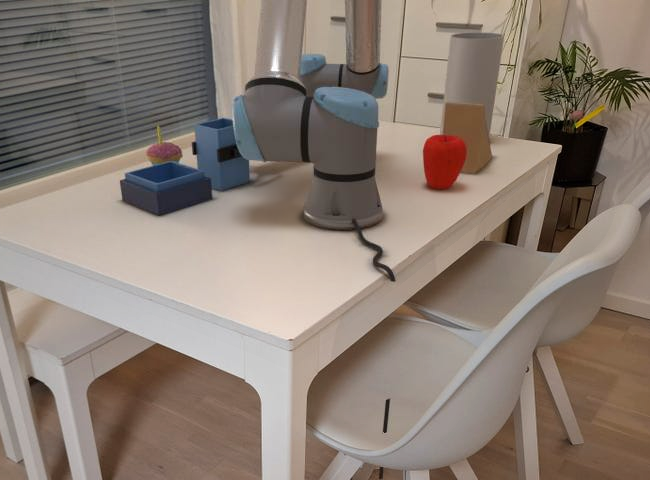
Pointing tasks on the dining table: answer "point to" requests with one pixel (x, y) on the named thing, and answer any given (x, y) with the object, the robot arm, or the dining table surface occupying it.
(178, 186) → the bin stack
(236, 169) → the lone bin
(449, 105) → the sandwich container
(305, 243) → the dining table surface
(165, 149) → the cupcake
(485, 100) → the cylinder vase
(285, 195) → the dining table surface
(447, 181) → the apple
